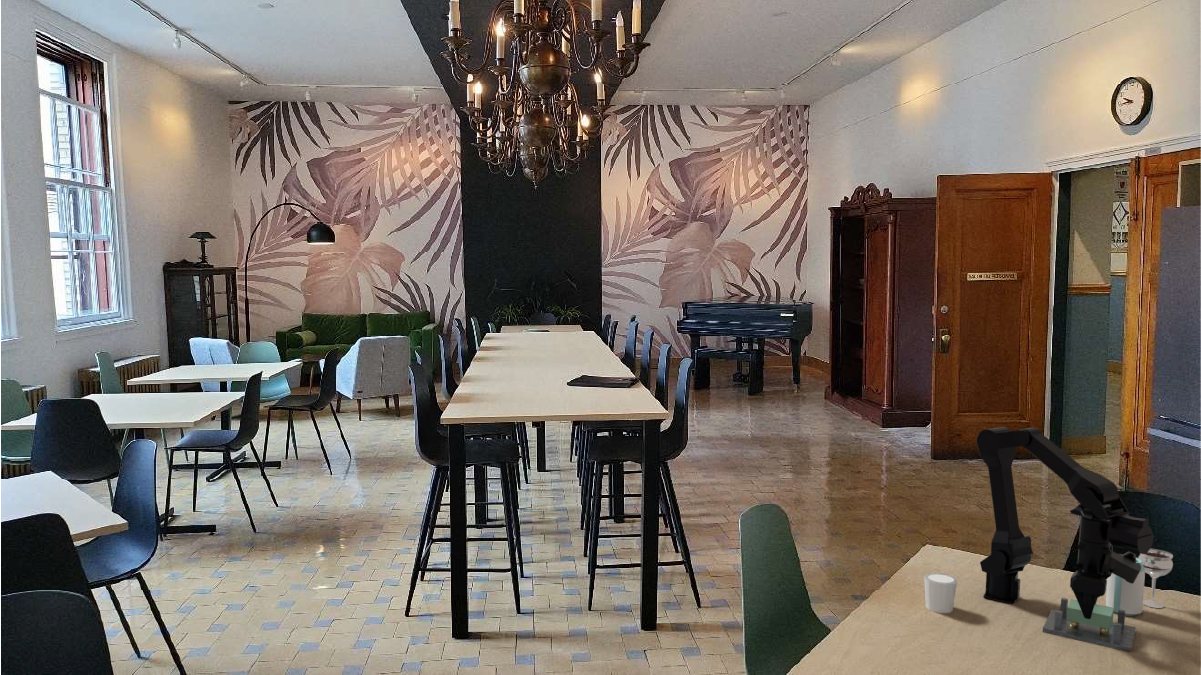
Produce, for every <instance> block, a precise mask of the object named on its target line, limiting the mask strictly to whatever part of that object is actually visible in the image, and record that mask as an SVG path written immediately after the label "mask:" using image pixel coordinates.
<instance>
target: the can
mask: <svg viewBox="0 0 1201 675" xmlns="http://www.w3.org/2000/svg"><path fill="white" fill-rule="evenodd" d="M1136 563H1140V565H1141V570H1140V572H1139V574H1138V576H1137V578H1136V580H1135V581H1134V583H1133V584H1132V583H1129V582H1127V581H1126V580H1125V579H1123V578H1121V577H1119V576H1117V575H1115V574H1113V573H1112V574H1111V576H1110V577H1109V578H1107V579H1106V580H1107V586H1106V593H1105V594H1106V597H1105V598H1106V600H1105V606H1107V607H1112V608H1114V612H1113V613H1115V614H1118V610H1124V611H1125V616H1128V617H1129V616H1130V617H1133V616H1134V617H1135V616H1138V615H1140V614H1142V613H1143V608H1144V607H1143V606H1144V605H1143V600H1144V593H1145V580H1146V579H1145V576H1146V572H1145V568H1144V566H1143V564H1142V560H1140V559H1139V558H1138V557H1136ZM1137 614H1138V615H1137Z"/></svg>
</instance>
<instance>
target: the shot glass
mask: <svg viewBox="0 0 1201 675" xmlns="http://www.w3.org/2000/svg"><path fill="white" fill-rule="evenodd" d="M923 579H924V591H925V592H924V594H925V595H924V596H925V608H926V609H928V610H929V611H931V612H934V613H938V614H950V613H952V612H953V611H954V604H955V597H956V589H957V584H958V580H957V578H955V577H954V576H952V575H949V574H946V573H940V572H939V573H938V572H931V573H927V574H925V575H924V577H923Z"/></svg>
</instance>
